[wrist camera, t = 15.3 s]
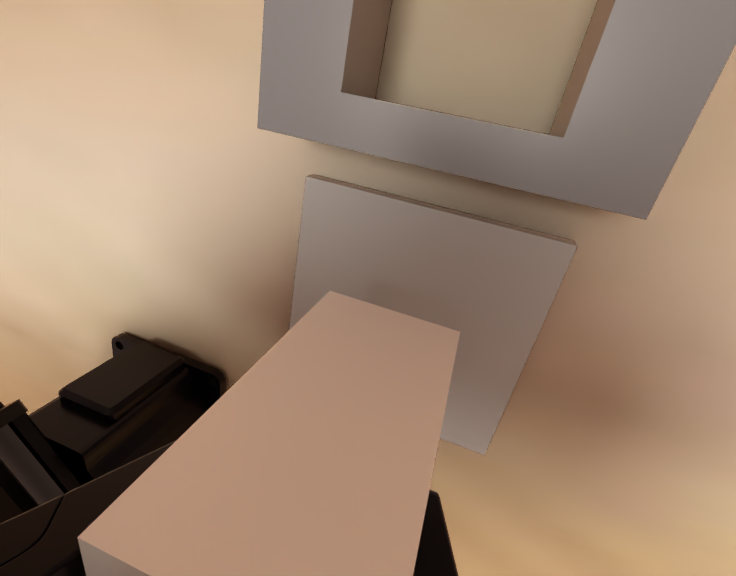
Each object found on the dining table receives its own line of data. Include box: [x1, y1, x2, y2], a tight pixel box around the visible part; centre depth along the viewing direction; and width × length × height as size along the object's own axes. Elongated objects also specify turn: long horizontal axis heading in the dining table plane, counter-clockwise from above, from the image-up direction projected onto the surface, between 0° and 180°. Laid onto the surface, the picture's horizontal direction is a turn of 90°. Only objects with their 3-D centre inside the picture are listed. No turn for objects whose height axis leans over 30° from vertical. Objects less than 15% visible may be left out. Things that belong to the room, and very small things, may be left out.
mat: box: [289, 174, 577, 455], centre depth 15 cm, size 9×9×1 cm
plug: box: [77, 291, 460, 576], centre depth 9 cm, size 4×4×8 cm
